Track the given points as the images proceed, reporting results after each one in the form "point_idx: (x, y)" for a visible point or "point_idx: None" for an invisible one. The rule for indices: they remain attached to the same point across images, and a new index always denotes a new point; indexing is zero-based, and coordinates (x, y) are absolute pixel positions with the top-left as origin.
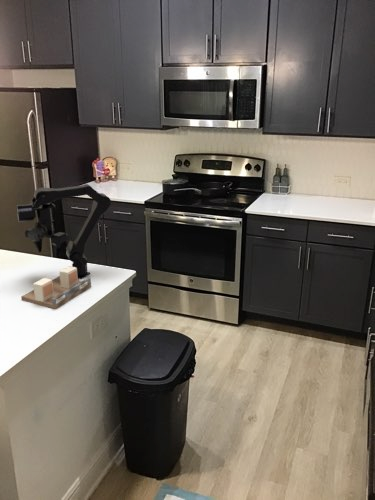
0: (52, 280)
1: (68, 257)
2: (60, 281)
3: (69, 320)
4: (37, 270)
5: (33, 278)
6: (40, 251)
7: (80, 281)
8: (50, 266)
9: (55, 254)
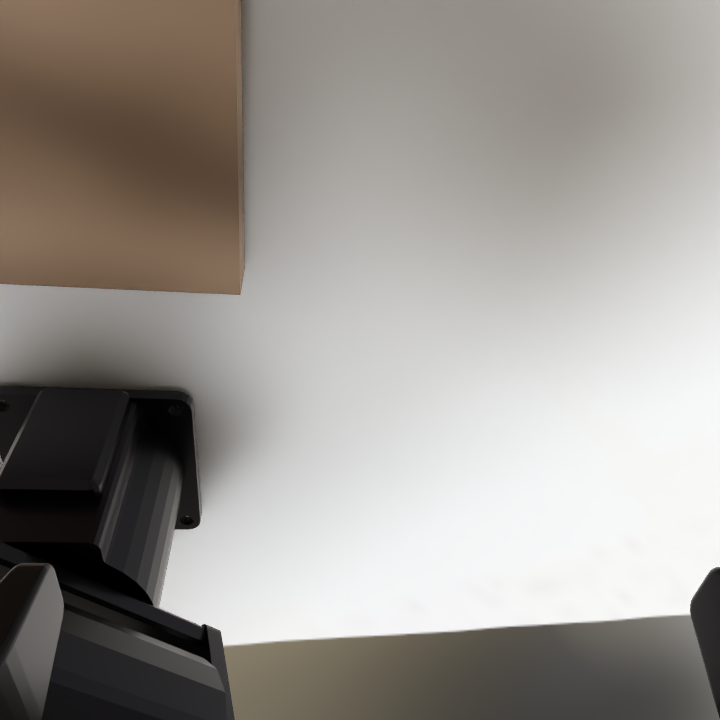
0: (214, 113)
1: (90, 643)
2: (55, 135)
3: None
4: (708, 374)
5: (652, 152)
6: (710, 609)
7: None
8: (599, 497)
9: (11, 609)
